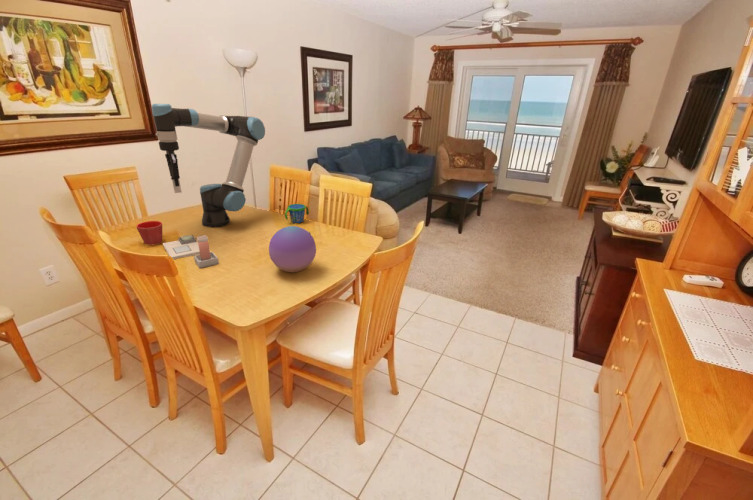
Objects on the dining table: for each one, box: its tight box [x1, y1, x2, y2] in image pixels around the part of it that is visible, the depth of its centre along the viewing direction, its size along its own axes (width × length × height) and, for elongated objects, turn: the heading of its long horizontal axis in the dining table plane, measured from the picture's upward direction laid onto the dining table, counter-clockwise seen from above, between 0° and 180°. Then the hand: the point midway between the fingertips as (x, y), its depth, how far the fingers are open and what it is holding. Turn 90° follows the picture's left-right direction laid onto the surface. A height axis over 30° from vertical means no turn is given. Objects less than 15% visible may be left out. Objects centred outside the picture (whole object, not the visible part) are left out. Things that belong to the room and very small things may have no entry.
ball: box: [268, 225, 317, 273], centre depth 148 cm, size 20×20×20 cm
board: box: [162, 235, 200, 260], centre depth 166 cm, size 14×20×3 cm
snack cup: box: [284, 203, 310, 224], centre depth 208 cm, size 16×10×10 cm
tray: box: [193, 251, 220, 269], centre depth 154 cm, size 8×8×3 cm
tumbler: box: [196, 234, 211, 261], centre depth 151 cm, size 4×4×12 cm
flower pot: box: [135, 220, 164, 246], centre depth 171 cm, size 11×11×10 cm
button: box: [180, 234, 193, 241], centre depth 172 cm, size 5×5×2 cm
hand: (178, 192), depth 163 cm, fingers closed
